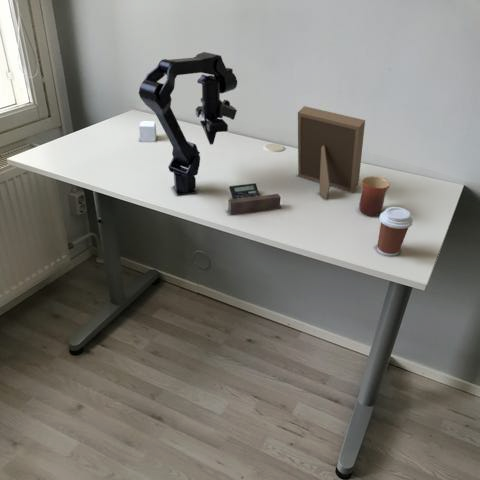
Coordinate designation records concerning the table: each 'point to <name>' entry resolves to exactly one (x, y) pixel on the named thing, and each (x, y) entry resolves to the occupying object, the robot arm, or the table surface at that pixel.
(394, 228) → the coffee cup
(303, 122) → the photo frame
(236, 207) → the rail
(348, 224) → the table surface
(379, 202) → the mug
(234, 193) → the calculator
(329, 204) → the table surface
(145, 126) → the white cube
